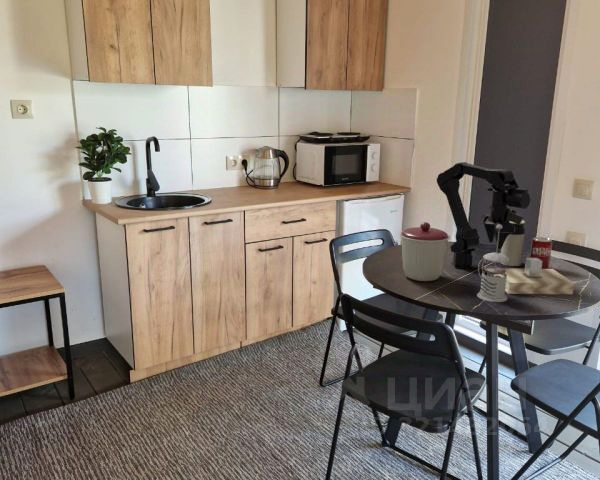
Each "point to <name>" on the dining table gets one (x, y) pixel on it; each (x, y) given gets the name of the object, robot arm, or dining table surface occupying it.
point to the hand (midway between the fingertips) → (495, 245)
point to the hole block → (537, 283)
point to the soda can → (541, 250)
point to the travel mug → (514, 245)
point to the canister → (423, 252)
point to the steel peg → (533, 268)
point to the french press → (493, 277)
